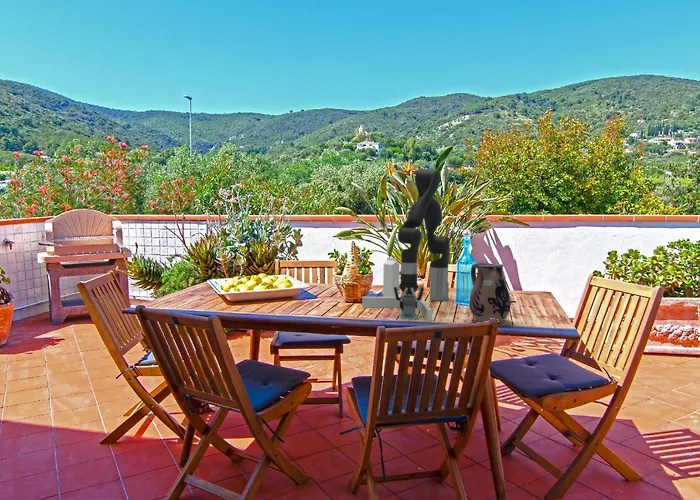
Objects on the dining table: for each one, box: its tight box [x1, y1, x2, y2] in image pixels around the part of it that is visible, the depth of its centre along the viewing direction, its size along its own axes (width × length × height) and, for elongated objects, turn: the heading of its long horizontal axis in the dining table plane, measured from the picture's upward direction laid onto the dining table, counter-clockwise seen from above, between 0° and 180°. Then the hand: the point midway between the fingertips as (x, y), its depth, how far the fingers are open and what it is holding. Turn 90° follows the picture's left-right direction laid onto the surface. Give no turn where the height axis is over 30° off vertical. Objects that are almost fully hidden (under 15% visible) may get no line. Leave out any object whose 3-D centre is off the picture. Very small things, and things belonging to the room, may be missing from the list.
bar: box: [401, 294, 417, 314], centre depth 249 cm, size 11×5×7 cm, turn 1°
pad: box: [397, 311, 420, 320], centre depth 250 cm, size 8×14×1 cm, turn 1°
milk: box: [382, 257, 401, 297], centre depth 286 cm, size 6×6×22 cm
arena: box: [361, 296, 433, 322], centre depth 253 cm, size 29×30×5 cm
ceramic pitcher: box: [468, 262, 512, 324], centre depth 239 cm, size 18×21×25 cm
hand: (408, 309), depth 249 cm, fingers closed on bar, 5 cm apart
